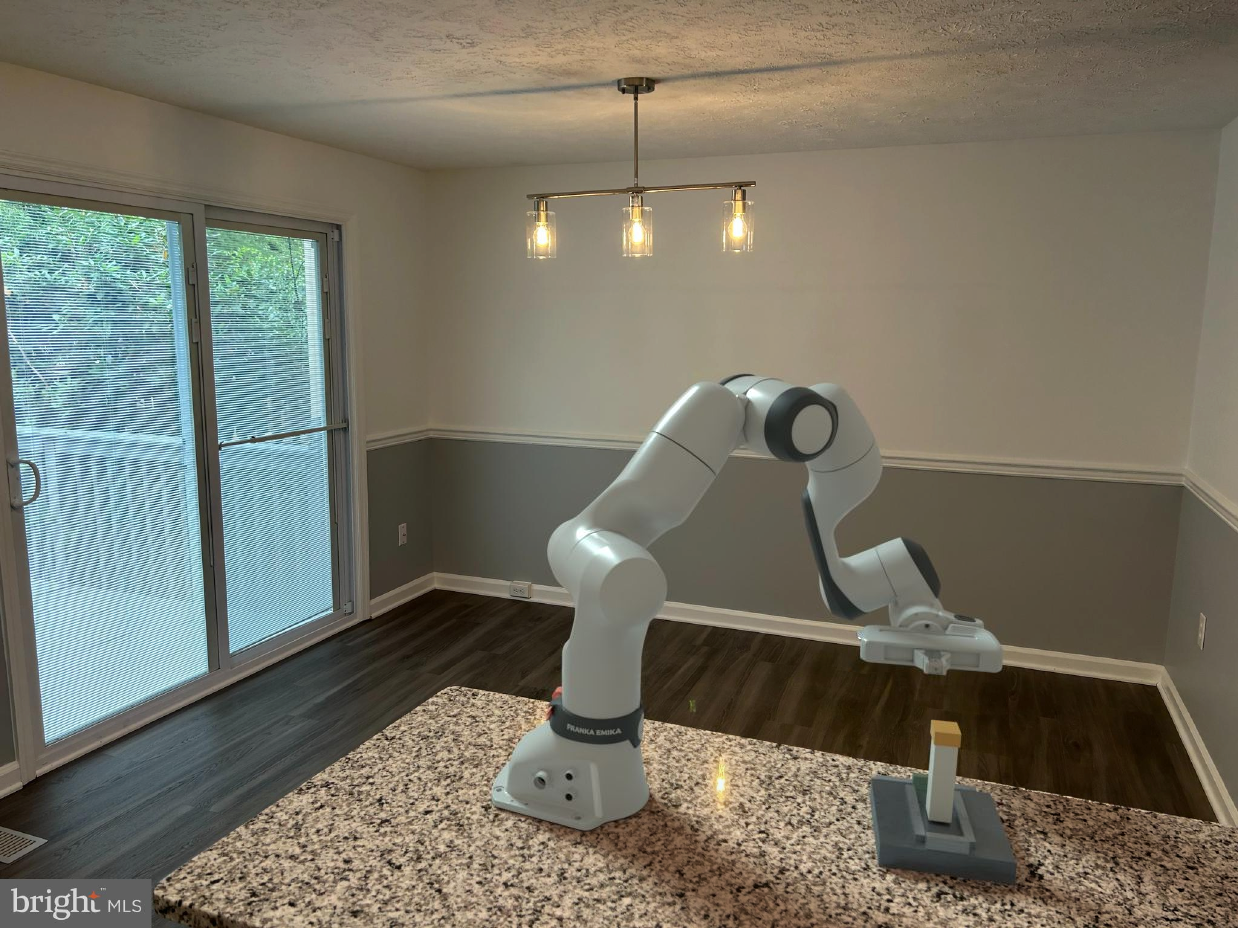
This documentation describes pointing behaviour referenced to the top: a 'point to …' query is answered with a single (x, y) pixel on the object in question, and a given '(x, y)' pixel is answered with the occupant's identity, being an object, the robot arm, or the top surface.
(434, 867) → the top surface
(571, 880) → the top surface
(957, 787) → the dark grey flat bar
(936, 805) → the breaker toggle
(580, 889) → the top surface
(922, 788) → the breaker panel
